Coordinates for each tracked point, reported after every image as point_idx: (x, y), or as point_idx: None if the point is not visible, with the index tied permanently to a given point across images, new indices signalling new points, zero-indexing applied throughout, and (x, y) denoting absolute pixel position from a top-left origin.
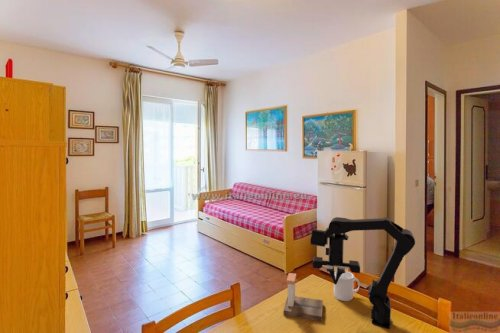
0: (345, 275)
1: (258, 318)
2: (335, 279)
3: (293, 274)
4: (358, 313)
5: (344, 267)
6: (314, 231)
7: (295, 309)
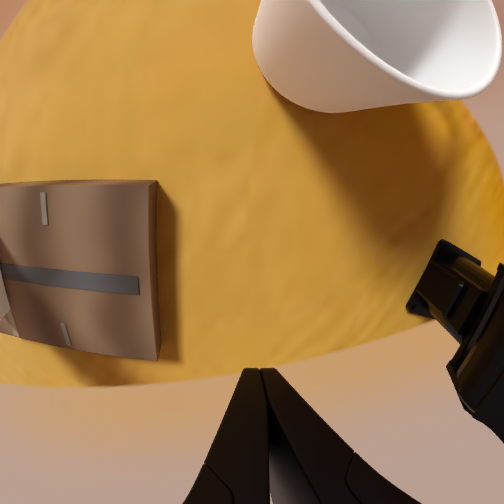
0: None
1: None
2: (269, 421)
3: None
4: (376, 236)
5: None
6: None
7: (25, 320)
